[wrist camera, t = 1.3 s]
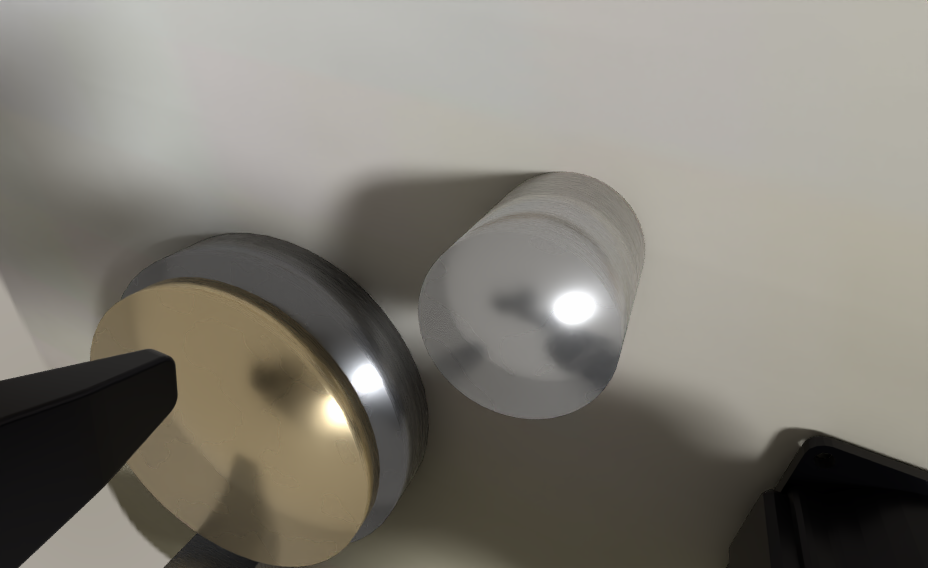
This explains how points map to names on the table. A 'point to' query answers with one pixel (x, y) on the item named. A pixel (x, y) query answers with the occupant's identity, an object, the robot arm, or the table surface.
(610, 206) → the cylinder
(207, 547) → the base
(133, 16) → the table surface
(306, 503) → the pan
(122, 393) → the robot arm
